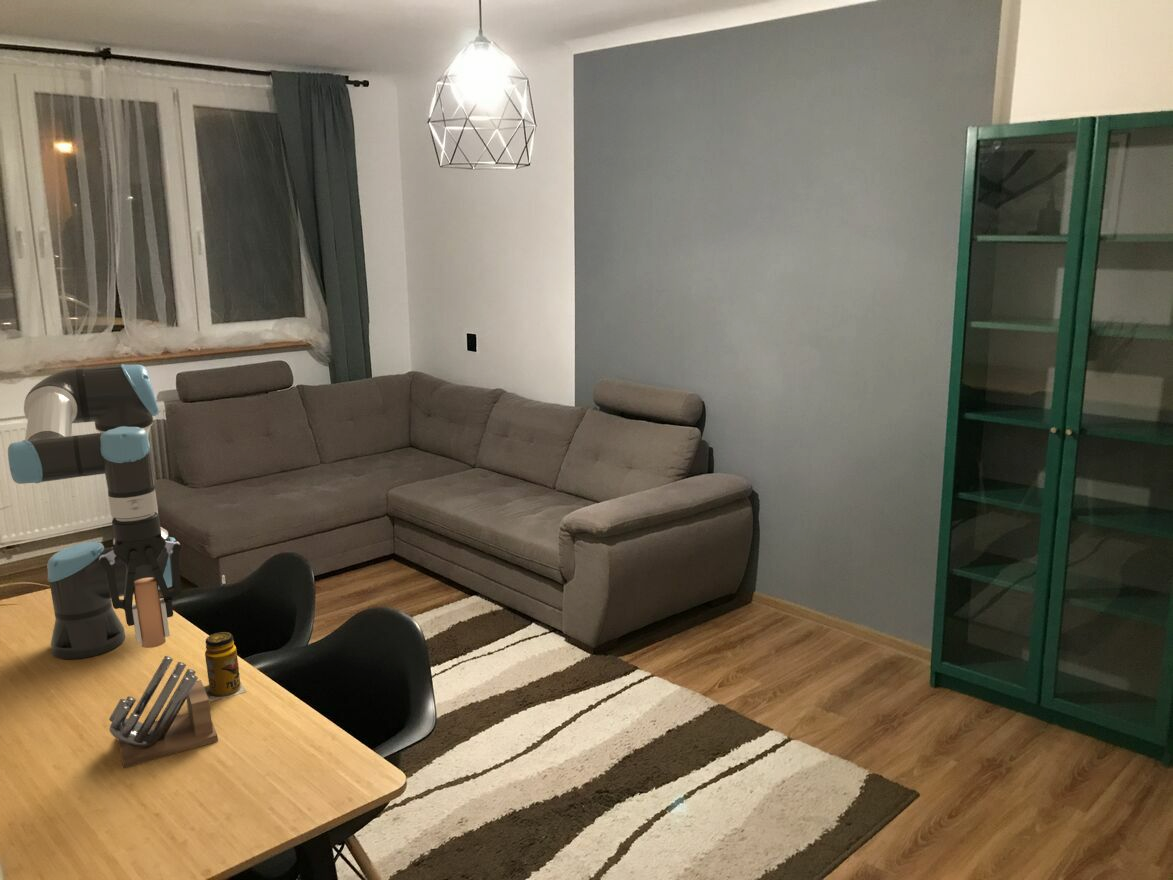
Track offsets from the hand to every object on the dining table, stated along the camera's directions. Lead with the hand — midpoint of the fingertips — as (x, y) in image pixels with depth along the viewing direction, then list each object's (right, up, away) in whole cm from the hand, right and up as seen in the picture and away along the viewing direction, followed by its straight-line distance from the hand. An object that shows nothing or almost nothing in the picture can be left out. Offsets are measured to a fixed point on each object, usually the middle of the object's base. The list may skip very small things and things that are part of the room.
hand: (152, 636), depth 170 cm
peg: (0, -1, 0) cm, 1 cm away
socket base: (0, -20, +5) cm, 21 cm away
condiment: (+4, -16, +23) cm, 28 cm away
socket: (-1, -20, +4) cm, 21 cm away
